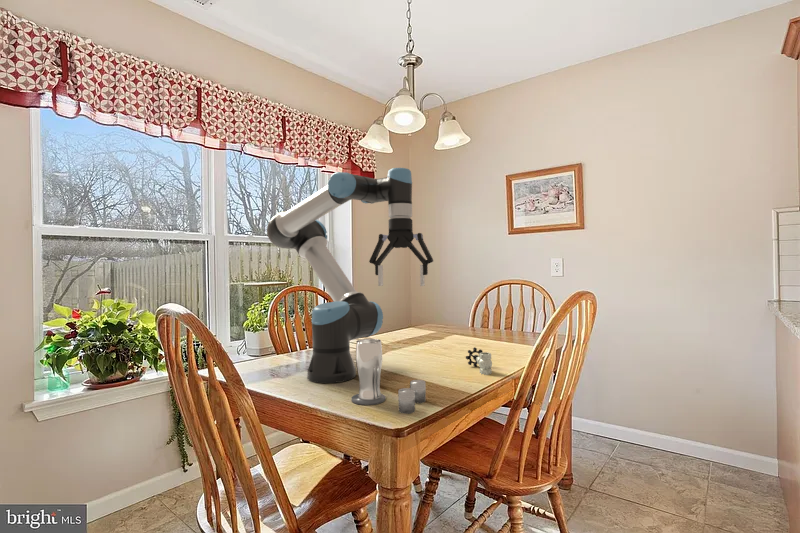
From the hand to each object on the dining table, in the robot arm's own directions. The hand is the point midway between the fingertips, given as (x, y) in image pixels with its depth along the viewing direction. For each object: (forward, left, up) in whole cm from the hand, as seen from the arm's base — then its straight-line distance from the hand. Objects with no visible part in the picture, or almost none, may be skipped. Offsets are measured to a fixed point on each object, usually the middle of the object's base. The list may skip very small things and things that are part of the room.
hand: (401, 285), depth 139 cm
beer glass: (-3, -24, -28) cm, 37 cm away
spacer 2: (+10, -22, -29) cm, 38 cm away
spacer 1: (+9, -30, -29) cm, 43 cm away
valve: (+23, +13, -29) cm, 39 cm away
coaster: (-3, -24, -29) cm, 38 cm away
